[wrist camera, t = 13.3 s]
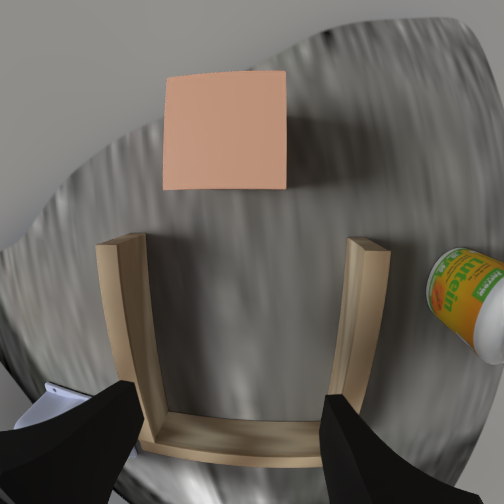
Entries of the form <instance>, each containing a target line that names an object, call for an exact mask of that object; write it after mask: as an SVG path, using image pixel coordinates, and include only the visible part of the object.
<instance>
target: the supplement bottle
mask: <svg viewBox="0 0 504 504" xmlns="http://www.w3.org/2000/svg"><path fill="white" fill-rule="evenodd" d="M426 297H427V303H428V305H429V308H430V309H431V311H432V312H433V313H434V315H436V316H437V317H438V318H439V319H440V320H441V321H442V322H443V323H444V324H445V325H446V326H447V327H449V328H450V329H451V330H452V331H453V332H454V333H455V334H456V335H457V336H458V337H459V338H460V339H461V340H462V341H463V342H465V343H466V344H467V345H468V346H469V347H470V348H471V349H472V350H473V351H474V352H475V353H476V354H477V355H478V356H479V357H480V358H481V359H482V360H483V361H485V362H486V363H488V364H492V365H499V364H503V363H504V263H503V262H500V261H498V260H496V259H493V258H491V257H488V256H486V255H483V254H481V253H478V252H476V251H473V250H470V249H467V248H455V249H452V250H450V251H448V252H446V253H445V254H444V255H443V256H441V257H440V258H439V260H438V261H437V262H436V263H435V265H434V267H433V268H432V270H431V273H430V275H429V278H428V282H427V287H426Z"/></svg>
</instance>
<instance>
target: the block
mask: <svg viewBox="0 0 504 504" xmlns="http://www.w3.org/2000/svg"><path fill="white" fill-rule="evenodd" d="M165 104H166V105H165V120H164V146H163V190H193V189H274V190H283V189H286V156H287V127H286V71H235V72H217V73H205V74H195V75H186V76H178V77H170V78H167V89H166V102H165Z"/></svg>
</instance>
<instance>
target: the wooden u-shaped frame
mask: <svg viewBox="0 0 504 504" xmlns="http://www.w3.org/2000/svg"><path fill="white" fill-rule="evenodd" d="M96 255H97V265H98V273H99V281H100V288H101V295H102V302H103V308H104V314H105V319H106V325H107V330H108V335H109V340H110V344H111V349H112V353H113V358H114V362H115V366H116V370H117V374H118V378H119V381H120V380H125V381H130V382H135V386H136V390H137V394H138V397H139V401H140V404H141V408H142V411H143V415H144V418H145V420H144V423H143V426H142V429H141V432H140V434H139V437H138V440H139V441H140V444H141V447H142V449H143V450H144V451H148V452H152V453H157V454H161V455H166V456H171V457H176V458H182V459H188V460H194V461H200V462H207V463H215V464H224V465H235V466H248V467H269V468H305V467H323V465H322V460H321V455H320V443H319V428H320V423H321V421H315V422H269V421H247V420H233V419H222V418H212V417H204V416H196V415H189V414H182V413H175V412H169V410H168V406H167V401H166V396H165V391H164V386H163V380H162V375H161V369H160V363H159V357H158V351H157V344H156V338H155V330H154V323H153V315H152V306H151V297H150V287H149V277H148V264H147V250H146V233H129V234H126V235H123V236H120V237H118V238H115V239H112V240H109V241H106V242H103V243H101V244H96ZM390 256H391V251H390V250H386V249H384V248H383V247H381V246H379V245H378V244H376V243H374V242H372V241H371V240H369V239H367V238H358V237H347V249H346V262H345V274H344V284H343V294H342V303H341V312H340V320H339V328H338V335H337V342H336V349H335V355H334V361H333V367H332V373H331V379H330V384H329V390H328V395H331V394H343V395H344V396H345V398H346V399H347V400H348V402H349V403H350V404H351V406H352V407H353V408H354V410H355V411H356V412H357V413H358V415H359V413H360V409H361V406H362V402H363V399H364V395H365V392H366V388H367V384H368V380H369V376H370V372H371V368H372V364H373V359H374V355H375V350H376V346H377V341H378V336H379V331H380V326H381V320H382V314H383V308H384V302H385V296H386V289H387V282H388V274H389V265H390Z"/></svg>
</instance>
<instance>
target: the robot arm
mask: <svg viewBox="0 0 504 504" xmlns="http://www.w3.org/2000/svg"><path fill="white" fill-rule="evenodd" d="M45 387H46V390H47V392H46V393H45V394H44V395H43V396H41V397H40V398H39V399H38V400H37V401H36V402H35V403H34V404H33V405H32V406H31V407H30V409H28V411H26V413H25V414H24V415H23V416H22V417H21V418H20V419H19V420H18V421H17V423H16V425H15V427H14V430H8V431H1V432H0V504H108V501H109V498H110V495H111V492H112V489H113V487H114V484H115V482H116V480H117V478H118V476H119V474H120V472H121V470H122V468H123V466H124V464H125V462H126V461H127V459H128V457H132V458H137V456H138V454H137V451H136V449H135V446H134V445H135V444H136V442H137V440H138V437H139V434H140V432H141V429H142V426H143V423H144V420H145V418H144V415H143V411H142V408H141V404H140V401H139V397H138V394H137V390H136V386H135V382H130V381H125V380H120V381H118V382H116V383H115V384H113V385H111V386H110V387H108V388H106V389H105V390H103V391H102V392H100V393H98V394H97V395H95V396H93V397H90V396H87V395H84V394H81V393H77V392H74V391H71V390H68V389H65V388H63V387H60V386H57V385H54V384H51V383H49V382H47V383H46V384H45ZM319 443H320V455H321V460H322V465H323V470H324V475H325V480H326V485H327V490H328V495H329V500H330V504H483V502H482V500H481V498H480V497H479V495H477V494H474V493H470V492H467V491H464V490H461V489H458V488H455V487H452V486H450V485H448V484H445V483H443V482H441V481H439V480H437V479H435V478H433V477H431V476H429V475H427V474H426V473H424V472H422V471H421V470H419V469H417V468H416V467H414V466H412V465H411V464H410V463H408V462H407V461H405V460H404V459H403V458H402V457H400V456H399V455H398V454H396V453H395V452H394V451H393V450H392V449H391V448H390V447H388V446H387V445H386V444H385V443H384V442H383V441H382V440H381V439H380V438H379V437H378V436H377V435H376V434H375V433H374V432H373V431H372V429H371V428H370V427H369V426H368V425H367V424H366V423H365V422H364V421H363V419H362V418H361V417H360V416H359V415H358V413H357V412H356V411H355V410H354V408H353V407H352V406H351V404H350V403H349V402H348V400H347V399H346V398H345V396H344V395H343V394H331V395H325V401H324V407H323V412H322V418H321V423H320V428H319Z"/></svg>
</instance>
